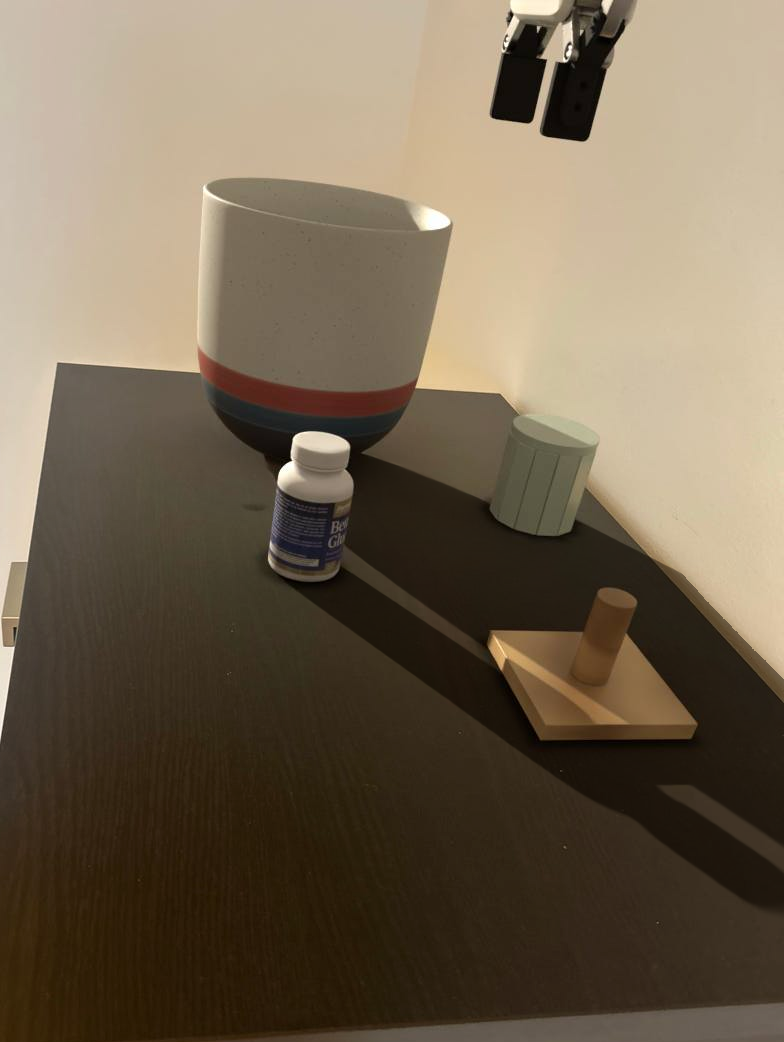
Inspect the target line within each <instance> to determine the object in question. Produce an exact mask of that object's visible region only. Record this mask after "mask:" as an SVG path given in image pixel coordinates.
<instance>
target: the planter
mask: <svg viewBox="0 0 784 1042" xmlns="http://www.w3.org/2000/svg"><path fill="white" fill-rule="evenodd" d="M201 203H202V206H201V221H200V239H199V240H200V241H199V259H198V283H197V327H196V328H197V329H196V330H197V331H196V332H197V335H196V338H197V339H196V340H197V341H196V342H197V343H196V345H197V360H198V367H199V373H200V379H201V383H202V386H203V390H204V393H205V396H206V399H207V401H208V403H209V405H210V407H211V409H212V411H213V412H214V413H215V415H216V416H217V418H218V419H219V421H220V422H221V423H222V424H223V425H224V427H225V428H226V429H227V430H228V431H229V432H230V433H231V434H232V435H234V437H235V438H237V440H239V441H241V442H242V443H243V444H244V445H246V446H248V448H249V447H250V448H251V449H253V450H254V451H256V452H258V453H260V454H262V455H265V456H267V457H270V458H272V459H276V460H280V461H283V462H287V463H289V462H291V461H292V459H291V449H292V443H293V438H294V437H295V435H297V434H299V433H302V432H324V433H329V434H333V435H336V436H339V437H341V438H343V439H344V440H346V441H347V442H348V443H349V444H350V453H349V459H351V458H352V457H355V456H357V455H360V454H361V453H363V452H365V451H367V450H368V449H370V448H372V447H373V446H375V445H376V444H378V443H379V442H380V441H382V440H383V439H384V438H385V437H386V436H387V435H389V434H390V432H392V430H393V429H394V428H395V427H396V426H397V424H398V423H399V421H400V420H401V419H402V417H403V415H404V414H405V411H406V409H407V408H408V405H409V404H410V402H411V400H412V397H413V395H414V392H415V390H416V387H417V384H418V381H419V377H420V374H421V372H422V371H421V370H422V367H423V363H424V359H425V355H426V351H427V347H428V343H429V340H430V335H431V330H432V326H433V323H434V318H435V314H436V309H437V306H438V305H437V304H438V299H439V295H440V291H441V286H442V281H443V276H444V272H445V266H446V262H447V258H448V257H447V256H448V253H449V247H450V242H451V238H452V237H451V236H452V232H453V228H454V222H453V220H452V219H451V217H450V216H448V215H446V214H445V213H444V212H441V211H439V210H438V209H435V208H433V207H430V206H427V205H425V204H422V203H418V202H416V201H413V200H409V199H405V198H402V197H401V198H400V197H398V196H393V195H389V194H385V193H380V192H375V191H370V190H365V189H361V188H355V187H349V186H344V185H338V184H331V183H330V184H329V183H323V182H317V181H316V182H315V181H308V180H307V181H306V180H300V179H299V180H298V179H297V180H296V179H287V178H275V177H274V178H272V177H271V178H270V177H229V178H228V177H227V178H218V179H215V180H214V179H213V180H211V181H209V182H207V183H205V184H204V186H203V189H202V202H201Z"/></svg>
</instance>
